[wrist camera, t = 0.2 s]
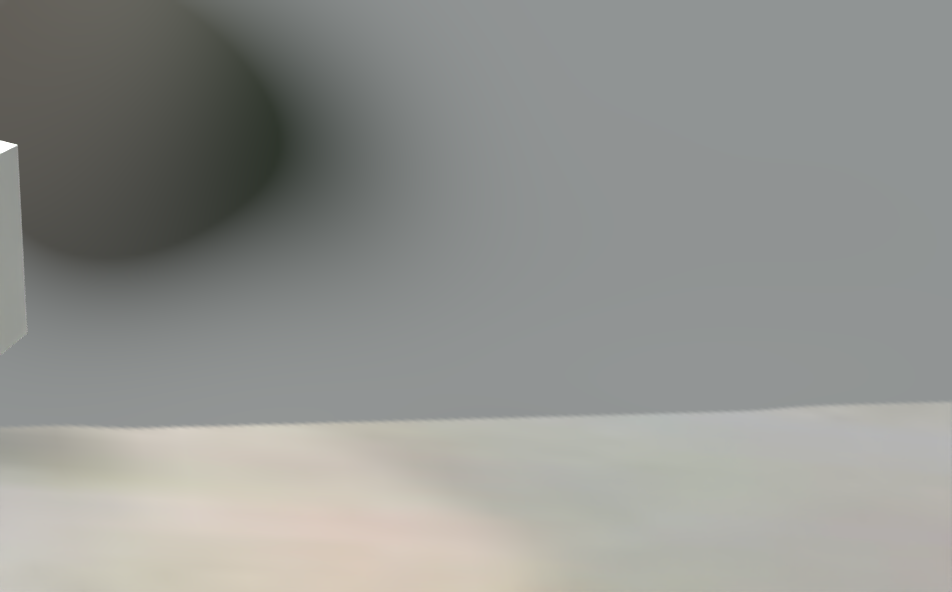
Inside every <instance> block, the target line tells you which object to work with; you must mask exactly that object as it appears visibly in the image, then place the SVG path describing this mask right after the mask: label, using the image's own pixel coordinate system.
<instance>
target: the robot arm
mask: <svg viewBox="0 0 952 592" xmlns="http://www.w3.org/2000/svg"><path fill="white" fill-rule="evenodd" d="M26 334H27V318H26V299H25V279H24V259H23V240H22V221H21V202H20V183H19V164H18V145H15V144H11V143H8V142H4V141H0V355H2V354H3V353H4V352H5V351H7V350H8V349H9V348H10V347H11V346H13V345H14V344H15V343H16V342H17V341H18V340H20V339H21V338H22V337H23V336H25V335H26Z"/></svg>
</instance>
